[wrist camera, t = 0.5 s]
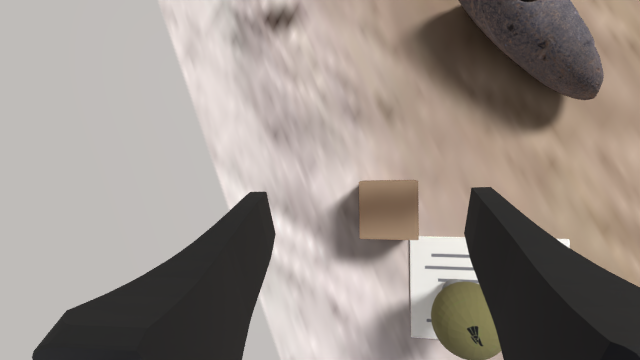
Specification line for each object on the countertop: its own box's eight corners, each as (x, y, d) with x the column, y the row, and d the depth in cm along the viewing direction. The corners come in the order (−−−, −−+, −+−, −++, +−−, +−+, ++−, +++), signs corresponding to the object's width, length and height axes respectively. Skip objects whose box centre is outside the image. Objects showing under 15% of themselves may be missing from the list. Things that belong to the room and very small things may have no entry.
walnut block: (414, 230, 35) (418, 240, 30) (363, 229, 36) (359, 238, 31) (414, 180, 35) (418, 181, 30) (363, 180, 36) (358, 181, 31)
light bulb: (411, 288, 35) (418, 334, 25) (451, 248, 34) (476, 279, 24) (454, 329, 34) (480, 393, 25) (497, 289, 33) (541, 339, 24)
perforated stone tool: (600, 86, 32) (657, 63, 25) (548, 124, 33) (590, 111, 26) (490, -36, 33) (515, -90, 26) (443, 3, 34) (456, -39, 27)
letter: (569, 348, 33) (569, 349, 32) (410, 336, 35) (411, 337, 35) (568, 238, 32) (569, 239, 32) (409, 235, 35) (409, 236, 35)
